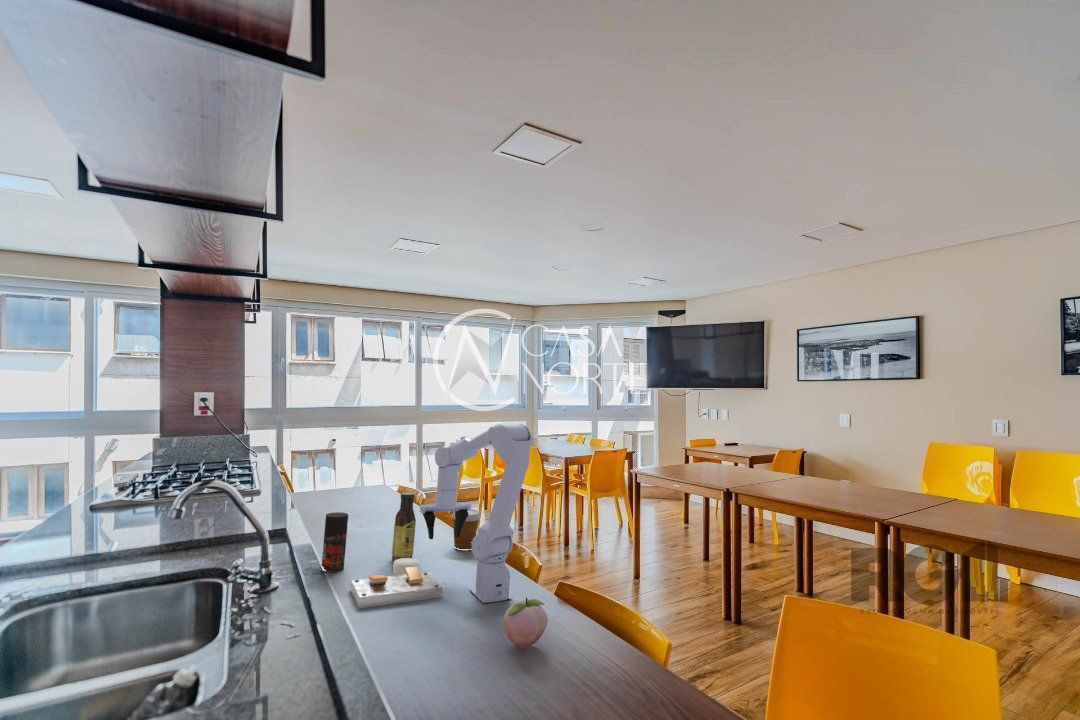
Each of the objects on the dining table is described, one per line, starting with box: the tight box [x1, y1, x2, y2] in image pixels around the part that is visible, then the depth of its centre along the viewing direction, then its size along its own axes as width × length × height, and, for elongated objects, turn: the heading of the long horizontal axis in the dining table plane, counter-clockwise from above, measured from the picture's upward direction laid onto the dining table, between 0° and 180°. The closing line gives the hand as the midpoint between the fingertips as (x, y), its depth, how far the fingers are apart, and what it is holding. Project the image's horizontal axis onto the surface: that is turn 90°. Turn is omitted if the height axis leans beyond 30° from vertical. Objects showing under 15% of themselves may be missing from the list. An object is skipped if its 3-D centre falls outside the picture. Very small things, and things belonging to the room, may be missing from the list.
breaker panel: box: [350, 571, 443, 609], centre depth 131 cm, size 12×20×3 cm, turn 119°
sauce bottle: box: [391, 492, 417, 562], centre depth 158 cm, size 6×6×20 cm
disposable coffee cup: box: [451, 509, 481, 549], centre depth 174 cm, size 10×10×12 cm
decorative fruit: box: [503, 597, 548, 649], centre depth 107 cm, size 9×8×10 cm
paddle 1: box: [368, 574, 387, 583], centre depth 130 cm, size 6×3×1 cm, turn 30°
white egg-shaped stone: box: [392, 557, 421, 576], centre depth 144 cm, size 7×7×4 cm
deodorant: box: [321, 511, 349, 574], centre depth 147 cm, size 6×6×15 cm
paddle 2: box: [405, 566, 423, 584], centre depth 134 cm, size 6×3×1 cm, turn 28°
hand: (444, 537), depth 148 cm, fingers open, 7 cm apart
